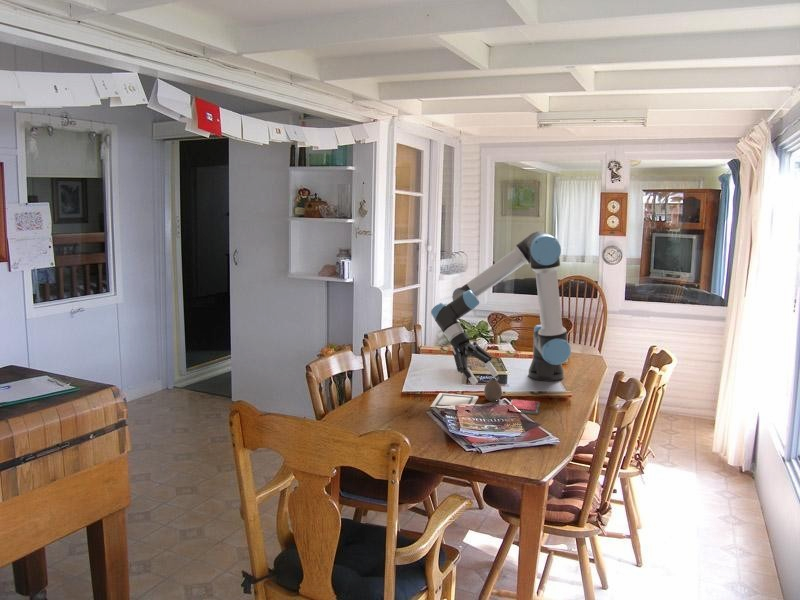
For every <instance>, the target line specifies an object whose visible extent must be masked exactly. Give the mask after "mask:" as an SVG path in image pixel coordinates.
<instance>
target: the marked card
mask: <svg viewBox="0 0 800 600" xmlns="http://www.w3.org/2000/svg"><path fill="white" fill-rule="evenodd" d="M478 399H479V396H477V395H470V394H469V395H467V394H458V393H457V394H456V393H447V392H445V393H444V392H439V394H438V395H437V396H436V398H435V399H434V400H433V401H432V404H431V405H430V406H429V408H430V407H435V406H450V405H460V404H475V405H476V403H477V402H478Z"/></svg>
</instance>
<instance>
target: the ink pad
mask: <svg viewBox="0 0 800 600" xmlns="http://www.w3.org/2000/svg"><path fill="white" fill-rule="evenodd" d="M510 403H511V404H512V405H514V406H515V407H516V408H517V409H518V410H520V411H521V412H523V413H522V414H528V415H529V414H530V415H538V414H539V413H538V412H539V409H540V404H541V403H540V401H535V400H526V399H516V398H515V399H511V400H510Z"/></svg>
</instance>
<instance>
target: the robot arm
mask: <svg viewBox="0 0 800 600" xmlns="http://www.w3.org/2000/svg"><path fill="white" fill-rule="evenodd" d="M561 253H562V247H561V244H560V242H559V240H558V239H557V238H556V237H555V236H554V235H552V234H549V233H547V232H546V231H541V230H539V231H534V232H532V233H531V234H528V236H526V237H525V238H524V239H522V241H520V242H519V243H517V244H516V245H515V246H514V249H513V250H512V251H510V252H509V253H507V254H506V255H504V256H503V257H502V258H500V259H499V260H498V261H496V262H494V263H493V264H492V265H491V266H489V267H488V268H486V269H485V270H483V271H482V272H481V273H479V274H477V276H475V277H474V278H472V279H471V280H470V281H468V282H467V283H466V284H464V285H462V286H461V287H456V288H455V289H454V290H453V292H452V297H451V298H452V301H451V302H449V303H448V304H447V303H446V302H444V301H443V302H440V303H438V304H436V305H435V306H433V307H432V309H431V311H430V314H431V316H432V317H433V319H434V322H436V325H438V327H439V328H440V330H441V331H442V333H443V335H445V338H446V339H447V340H448V341H449V343H450V345H451V346H452V348H453V350H452V351H451V353H452V355H453V358H454V362H455V365H456V369H457V372H458V373H460V374H463V375H464V376H465V377H466V379H468V380H469V382H470V384H471V385H472V386H473V387H474V386H475V385H477V384H478V383H479V381H478V379H477V378H476V376H475V375H474V373H473V372H472V370H471V369H470V368H468V357H474V358H476V359H477V360H480V361H481V362H482V363H484V366H485V367H486V369H487V370H488V372H489V373H490V375H491V376H492V378H495V379H496V377H497V376H498V375H499V372H498V371H497V369H496V368H495V366H494V364H493V362H492V361H491V360H492V359H493V356H492V355H490V354H489V353H488V352H487V351H485V350H484V348H483V347H481V346H479V344H478V343H477V341H473V343H471V342H470V337H469V336H468V335H467V333H466V332H465V330H464V328H463V326H461V324H460V323H459V321H458V320H460V319H461V318H462V317H463V316H465V315H467V314H468V313H470V312H471V311H472V310H475V308H476V307H478V306H479V305H480V301H479V299H478V297H480V296H482V295H483V294H484V293H485V292H487V291H488V290H490V289H491V288H493V287H494V286H496V285H497V284H498V283H500V282H501V281H503V280H504V279H506V278H507V277H508V276H510V275H511V274H512V273H514V272H515V271H517V270H518V269H520V268H522V266H524V265H529V264H530V270H531V269H532V271H533V272H534V274H535V281H536V289H537V300H538V301H537V302H538V308H539V311H538V312H539V319H540V320H539V321H540V324H536V325H535V326H534V327H533V350H532V351H533V353H532V360H531V363H530V366H529V368H528V376H529V377H530V378H531V379H534V380H538V381H544V382H555V381H559V380H562V379H563V378H564V375H565V372H564V368H563V363H566V362H567V360H568V359H569V358H570V356H571V352H572V350H571V345H570V343H569V341H568V333H567V329H566V328H565V326H563V320H562V309H561V300H560V289H559V279H558V269H559V267H560V266H561V261H560V257H561Z"/></svg>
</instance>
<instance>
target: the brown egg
mask: <svg viewBox="0 0 800 600" xmlns="http://www.w3.org/2000/svg"><path fill="white" fill-rule="evenodd" d="M502 392H503V391H502V386H501V385H500V383H499V382H498V380H497V378H496V377H495V378H493V377H491V378H490V379H489V380H488V382H487V383H486V384H485V386H484V391H483V393H484V396H485V398H486V400H487V401H489V402H493V401H495V402H497V401H496V400H498V401H499V400H500V399H501V397H502V394H503V393H502ZM493 403H494V402H493Z"/></svg>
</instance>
